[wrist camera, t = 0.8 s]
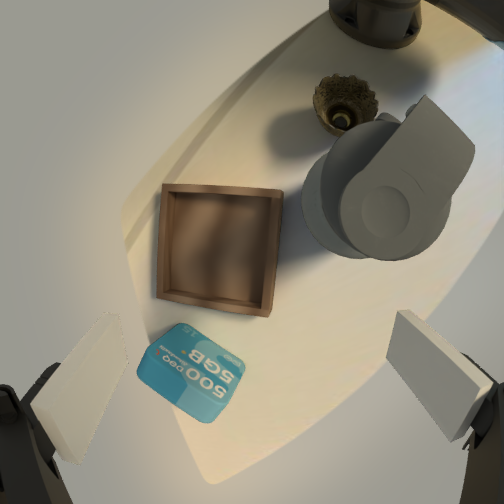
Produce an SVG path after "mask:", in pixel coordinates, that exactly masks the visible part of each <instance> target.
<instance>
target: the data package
mask: <svg viewBox="0 0 504 504" xmlns="http://www.w3.org/2000/svg"><path fill="white" fill-rule="evenodd" d="M244 371H245V364H244V363H243V362H242V361H241V360H240V359H239V358H237V357H236V356H234V355H233V354H231V353H230V352H228V351H227V350H225V349H223V348H222V347H220V346H219V345H217V344H216V343H214V342H213V341H211V340H210V339H209V338H207V337H206V336H204V335H203V334H201V333H200V332H198V331H197V330H195V329H194V328H193V327H191V326H189V325H187V324H184V323H179V324H177V325H176V326H175V327H174V328H172V329H171V330H170V331H168V332H167V333H166V334H164V335H163V336H162V337H160V338H159V339H158V340H157V341H155V342H154V343H153V344H151V345H150V346H149V347H148V348H147V349H146V351H145V354H144V356H143V358H142V360H141V362H140V364H139V366H138V369H137V375H138V377H139V379H140V380H141V381H143V382H144V383H145V384H146V385H148V386H149V387H151V388H152V389H153V390H154V391H156V392H157V393H159V394H160V395H161V396H163V397H164V398H165V399H167V400H168V401H170V402H171V403H172V404H174V405H175V406H177V407H178V408H180V409H181V410H183V411H184V412H186V413H187V414H189V415H190V416H192V417H193V418H195V419H197V420H198V421H200V422H202V423H211V422H213V421H214V420H215V419H216V417H217V416H218V415H219V414H220V413H221V411H222V410H223V409H224V408H225V407H226V405H227V404H228V403H229V401H230V399H231V397H232V395H233V393H234V391H235V389H236V387H237V385H238V383H239V381H240V379H241V377H242V375H243V373H244Z"/></svg>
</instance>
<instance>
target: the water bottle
mask: <svg viewBox="0 0 504 504" xmlns="http://www.w3.org/2000/svg"><path fill="white" fill-rule="evenodd" d="M474 154H475V145H474V144H473V143H472V141H471V140H470V139H469V138H468V137H467V136H466V135H465V134H464V133H463V131H462V130H461V129H460V128H459V127H458V126H457V125H456V124H455V123H454V122H453V121H452V120H451V119H450V118H449V117H448V116H447V115H446V114H445V113H444V112H443V111H442V110H441V109H440V108H439V107H438V106H437V105H436V104H435V103H434V102H433V101H431V100H430V99H429V98H428V97H427V96H426V95H424V96H423V97H422V98H421V99H420V101H419V102H418V103H417V104H413V105H412V106H411V107H410V108H409V109H408V110H407V112H406V119H405V120H404V121H403V122H402V123H401V122H400V121H399V120H398V119H396V118H395V117H394V116H392V115H390V114H388V113H381V114H380V115H379V116H378V117H377V118H376V119H375V121H370V122H367V123H363V124H360V125H357V126H355V127H354V128H352V129H350V130H348V131H347V132H345V133H344V134H343V135H342V136H341V137H340V138H339V139H338V140H337V141H336V142H335V144H334V145H333V146H332V148H331V149H330V151H329V152H328V153H326V154H325V155H323V156H322V157H321V158H320V159H319V160H318V161H317V162H315V164H314V165H313V167H312V168H311V169H310V171H309V172H308V175H307V177H306V179H305V181H304V185H303V189H302V199H301V205H302V211H303V216H304V219H305V222H306V224H307V227H308V228H309V230H310V232H311V233H312V235H313V236H314V237H315V238H316V239H317V241H318V242H319V243H320V244H321V245H323V246H324V247H325V248H327V249H328V250H329V251H331V252H333V253H335V254H337V255H340V256H343V257H347V258H353V259H364V258H374V259H378V260H384V261H397V260H404V259H408V258H410V257H413V256H415V255H418V254H420V253H421V252H423V251H424V250H425V249H427V248H428V247H429V246H430V245H431V244H432V243H433V242H434V241H435V240H436V239H437V238H438V237H439V235H440V233H441V232H442V230H443V229H444V227H445V224H446V222H447V219H448V216H449V212H450V207H451V197H452V195H453V194H454V192H455V191H456V189H457V188H458V186H459V185H460V183H461V182H462V180H463V179H464V177H465V175H466V174H467V172H468V170H469V168H470V166H471V163H472V161H473V158H474Z"/></svg>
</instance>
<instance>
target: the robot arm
mask: <svg viewBox="0 0 504 504" xmlns="http://www.w3.org/2000/svg"><path fill="white" fill-rule="evenodd" d="M420 1H421V0H329V11H330V15H331V17H332V19H333V20H334V22H335V23H336V25H337V26H338V27H339V28H340V29H341V30H343V31H344V32H345V33H346V34H348V35H349V36H351V37H353V38H354V39H356V40H358V41H360V42H363V43H365V44H368V45H371V46H375V47H380V48H401V47H404V46H407V45H409V44H411V43H412V42H413V41H414V40H415V39H416V37H417V35H418V33H419V31H420V29H421V25H422V18H421V6H420ZM425 1H427V2H429V3H431V4H432V5H434V6H436V7H438V8H440V9H441V10H443V11H445V12H447V13H448V14H450V15H452V16H454V17H455V18H457V19H458V20H460V21H462V22H463V23H465V24H466V25H468V26H470V27H471V28H473V29H474V30H476V31H477V32H478V33H480V34H481V35H482V36H483V37H484V38H485V39H486V40H488V41H490V42H492V43H494V44H496V45H497V46H499V47H500V48H501V49H503V50H504V0H425ZM386 358H387V360H388V361H389V362H390V363H391V365H392V366H393V367H394V369H395V370H396V371H397V372H398V373H399V375H400V376H401V377H402V379H403V380H404V381H405V383H406V384H407V385H408V386H409V387H410V389H411V390H412V391H413V393H414V394H415V395H416V397H417V398H418V399H419V401H420V402H421V403H422V405H423V406H424V407H425V409H426V410H427V411H428V413H429V414H430V415H431V417H432V418H433V420H434V421H435V422H436V424H437V425H438V426H439V427H440V429H441V430H442V432H443V433H444V434H445V436H446V437H447V438H448V440H449V441H450V442H452V441H454V440H457V439H459V438H461V437H463V436H464V435H465V433H466V431H467V430H468V428H469V427H470V426H471V427H472V428H473V429H474V430H473V432H472V434H471V435H470V437H469V438H468V440H467V441H466V443H465V444H464V446H463V448H462V449H463V450H464V449H465V448H466V446H467V445H468V444H470V446H469V449H468V451H469V453H468V461H467V467H466V474H465V479H464V484H463V490H462V494H461V499H460V503H459V504H504V382H503V383H501V384H498V383H497V382H496V381H495V380H494V379H493V378H492V377H491V376H489V374H488V373H486V372H485V371H484V370H483V369H482V368H480V366H479V365H478V364H476V363H475V362H474V361H473V360H472V359H471V358H469V357H468V356H467V355H465V354H463V353H461V352H459V351H458V350H457V349H456V348H454V347H453V346H452V345H451V344H450V343H449V342H447V341H446V340H445V339H444V338H443V337H441V336H440V335H439V334H438V333H437V332H436V331H434V330H433V329H432V328H431V327H430V326H429V325H427V324H426V323H425V322H424V321H423V320H421V319H420V318H419V317H418V316H417V315H415V314H414V313H413V312H412V311H410V310H400V311H397V314H396V319H395V323H394V327H393V332H392V336H391V340H390V344H389V348H388V351H387V355H386ZM127 365H128V360H127V355H126V350H125V345H124V341H123V335H122V330H121V324H120V318H119V314H116V313H103V315H102V316H101V317H100V318H99V319H98V320H97V321H96V323H95V324H94V325H93V326H92V327H91V328H90V329H89V331H88V332H87V333H86V334H85V335H84V337H83V338H82V339H81V340H80V341H79V342H78V344H77V345H76V346H75V347H74V348H73V350H72V351H71V352H70V353H69V355H68V356H67V357H66V358H65V360H64V361H63V362H62V363H57V362H56V363H54V364H53V365H51V366H50V367H48V368H47V369H46V370H45V371H44V372H43V373H42V375H41V376H40V378H38V379H37V381H36V382H35V384H34V385H33V386H32V387H31V388H30V389H29V391H28V392H27V393H26V394H25V396H24V397H23V398H22V400H21V401H19V399H18V397H17V395H16V393H15V391H14V389H13V388H12V387H11V386H9V385H5V384H2V385H0V504H73V502H72V500H71V498H70V496H69V494H68V491H67V489H66V487H65V485H64V482H63V480H62V477H61V475H60V472H59V470H58V467H57V465H56V462H55V460H54V459H53V457H52V456H53V454H54V452H55V450H56V451H57V453H58V454H59V456H60V457H61V459H62V460H64V461H68V462H71V463H74V464H77V465H81V462H82V460H83V458H84V456H85V453H86V451H87V449H88V447H89V444H90V442H91V440H92V437H93V435H94V433H95V431H96V429H97V426H98V424H99V422H100V420H101V418H102V416H103V414H104V412H105V409H106V407H107V405H108V403H109V401H110V399H111V397H112V395H113V393H114V391H115V389H116V387H117V385H118V383H119V381H120V379H121V377H122V375H123V373H124V371H125V369H126V367H127Z"/></svg>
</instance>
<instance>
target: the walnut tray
mask: <svg viewBox="0 0 504 504" xmlns="http://www.w3.org/2000/svg"><path fill="white" fill-rule="evenodd" d="M283 195H284V192H283V191H281V190H276V189H263V188H249V187H234V186H215V185H192V184H162V194H161V206H160V219H159V235H158V257H157V298H159V299H164V300H169V301H174V302H179V303H184V304H189V305H195V306H200V307H205V308H211V309H217V310H223V311H229V312H235V313H241V314H247V315H254V316H260V317H267V318H268V317H269V315H270V313H271V310H272V305H273V296H274V287H275V277H276V268H277V258H278V248H279V238H280V228H281V217H282V206H283Z"/></svg>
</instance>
